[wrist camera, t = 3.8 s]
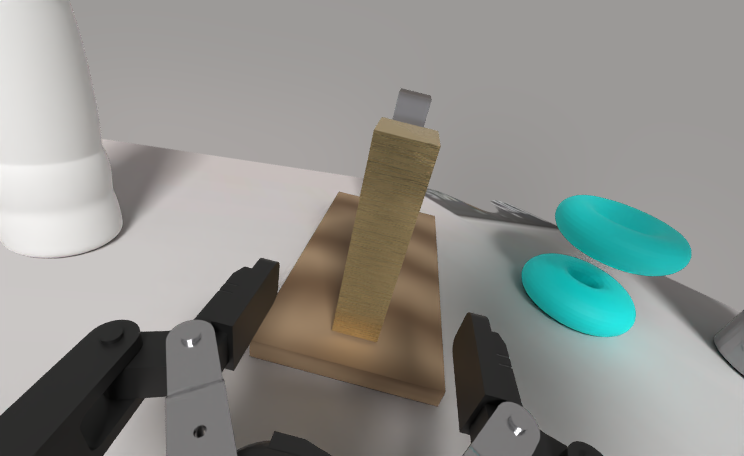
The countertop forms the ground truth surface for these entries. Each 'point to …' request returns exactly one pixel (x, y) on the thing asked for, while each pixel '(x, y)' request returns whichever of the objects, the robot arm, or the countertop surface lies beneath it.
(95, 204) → the water bottle
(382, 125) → the brass leg
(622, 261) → the donuts
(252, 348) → the brown wooden stand
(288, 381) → the countertop surface
